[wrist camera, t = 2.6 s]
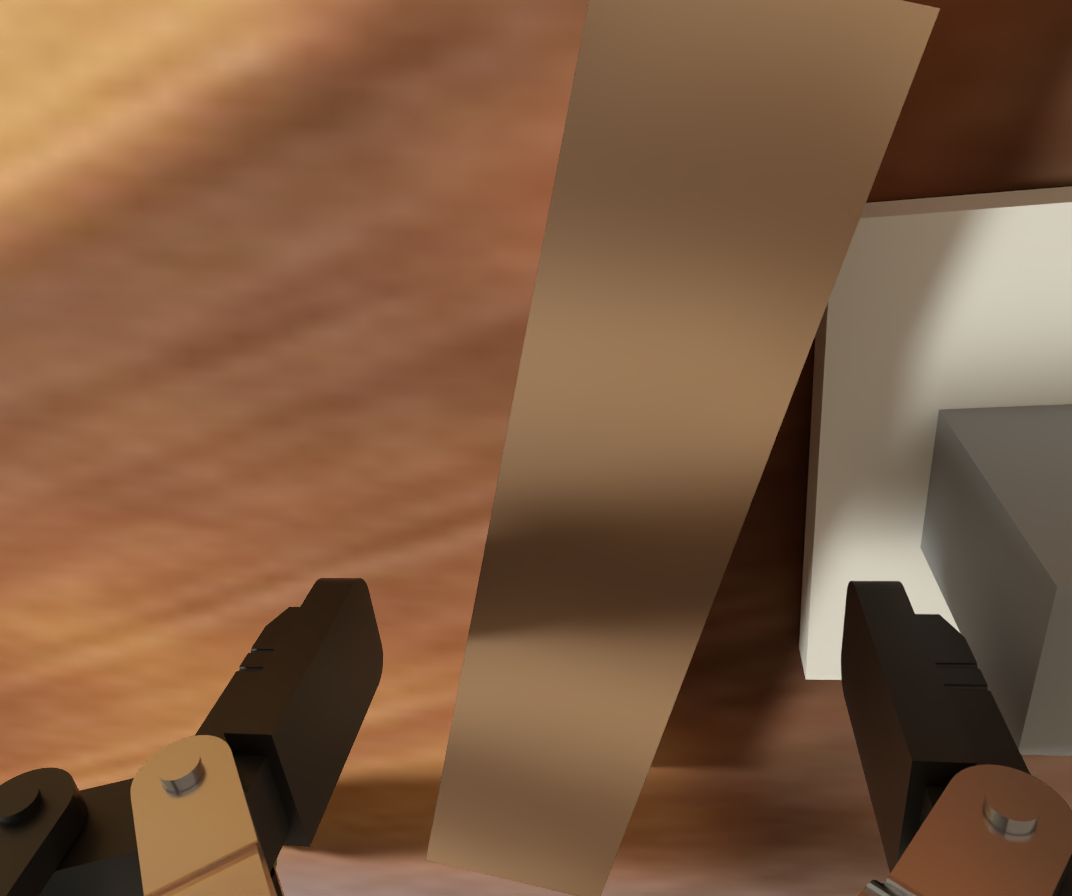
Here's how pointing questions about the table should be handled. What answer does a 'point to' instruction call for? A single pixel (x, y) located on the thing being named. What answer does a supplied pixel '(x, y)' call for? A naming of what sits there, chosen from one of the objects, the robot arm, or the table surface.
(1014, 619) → the fulcrum
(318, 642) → the robot arm
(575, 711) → the beam
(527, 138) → the table surface
